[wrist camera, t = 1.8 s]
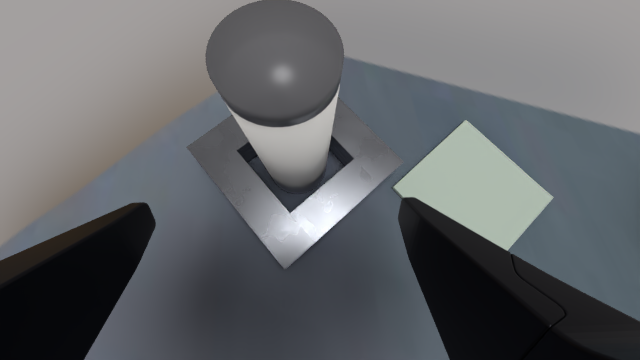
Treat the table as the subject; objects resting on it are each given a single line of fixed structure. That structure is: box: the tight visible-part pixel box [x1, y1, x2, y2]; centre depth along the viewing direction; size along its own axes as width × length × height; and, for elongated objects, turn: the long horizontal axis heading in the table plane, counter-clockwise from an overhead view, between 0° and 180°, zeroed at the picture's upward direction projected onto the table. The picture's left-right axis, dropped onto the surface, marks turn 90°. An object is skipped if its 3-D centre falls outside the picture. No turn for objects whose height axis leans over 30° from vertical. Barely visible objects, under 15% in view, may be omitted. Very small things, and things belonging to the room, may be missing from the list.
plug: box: [206, 0, 344, 194], centre depth 15 cm, size 5×5×13 cm
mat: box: [392, 120, 553, 250], centre depth 21 cm, size 10×10×1 cm
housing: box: [187, 97, 403, 270], centre depth 20 cm, size 12×12×3 cm
